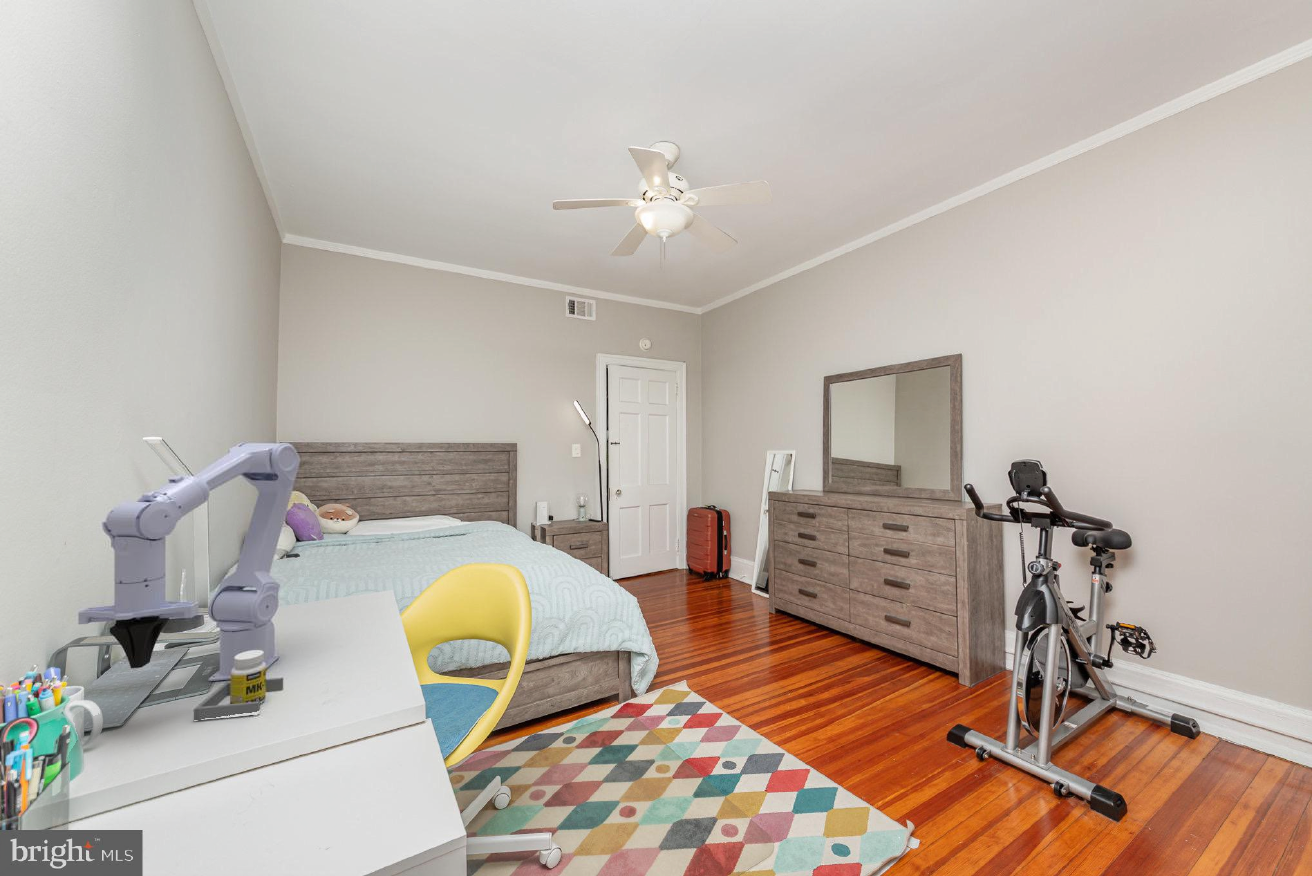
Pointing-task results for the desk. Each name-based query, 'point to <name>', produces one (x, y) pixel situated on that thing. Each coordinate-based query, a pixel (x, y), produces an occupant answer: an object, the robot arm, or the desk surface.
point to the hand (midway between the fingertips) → (140, 665)
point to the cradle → (213, 710)
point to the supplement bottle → (248, 677)
